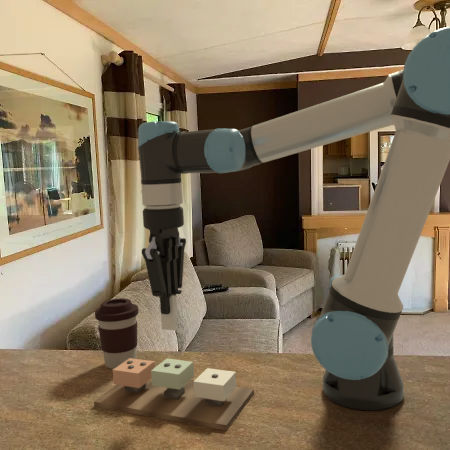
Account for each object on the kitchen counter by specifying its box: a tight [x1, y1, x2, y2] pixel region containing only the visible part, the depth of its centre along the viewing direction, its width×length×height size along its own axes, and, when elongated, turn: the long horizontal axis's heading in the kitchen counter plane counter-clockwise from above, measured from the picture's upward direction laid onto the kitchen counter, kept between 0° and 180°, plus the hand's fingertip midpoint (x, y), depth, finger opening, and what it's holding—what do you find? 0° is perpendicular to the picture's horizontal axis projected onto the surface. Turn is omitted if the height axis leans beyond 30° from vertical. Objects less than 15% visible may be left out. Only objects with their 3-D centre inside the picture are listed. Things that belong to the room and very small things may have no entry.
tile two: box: [151, 358, 195, 390], centre depth 94 cm, size 6×6×3 cm
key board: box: [93, 378, 255, 431], centre depth 95 cm, size 28×14×2 cm, turn 67°
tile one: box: [194, 367, 237, 401], centre depth 91 cm, size 6×6×3 cm
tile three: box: [112, 358, 156, 388], centre depth 98 cm, size 6×6×3 cm
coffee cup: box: [94, 297, 140, 370], centre depth 113 cm, size 10×10×15 cm
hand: (169, 328), depth 93 cm, fingers closed
